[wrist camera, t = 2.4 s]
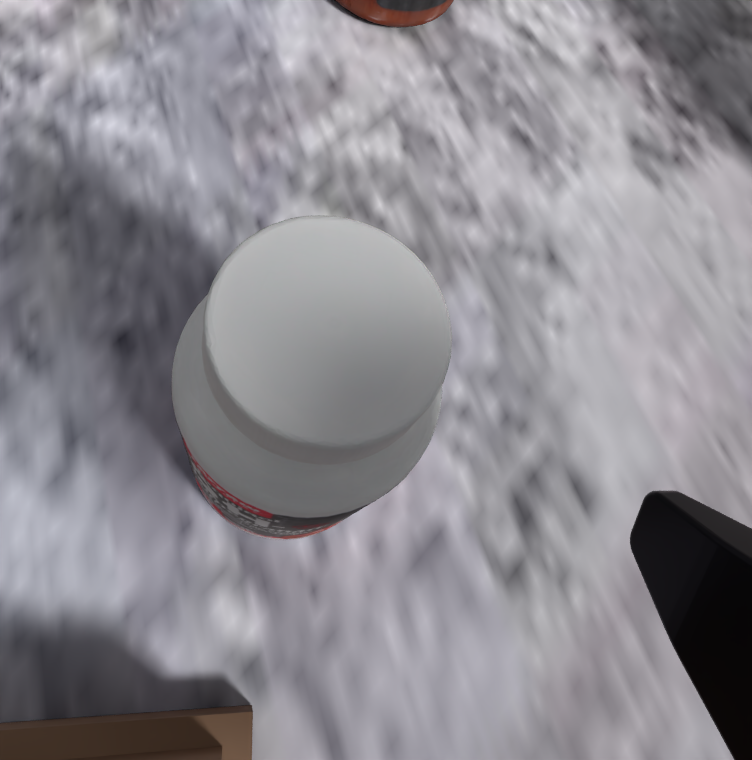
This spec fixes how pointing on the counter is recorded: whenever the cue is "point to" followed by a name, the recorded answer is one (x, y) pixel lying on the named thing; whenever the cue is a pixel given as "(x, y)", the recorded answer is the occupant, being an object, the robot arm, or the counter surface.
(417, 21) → the supplement bottle
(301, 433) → the pill bottle
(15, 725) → the socket block
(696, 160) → the counter surface
